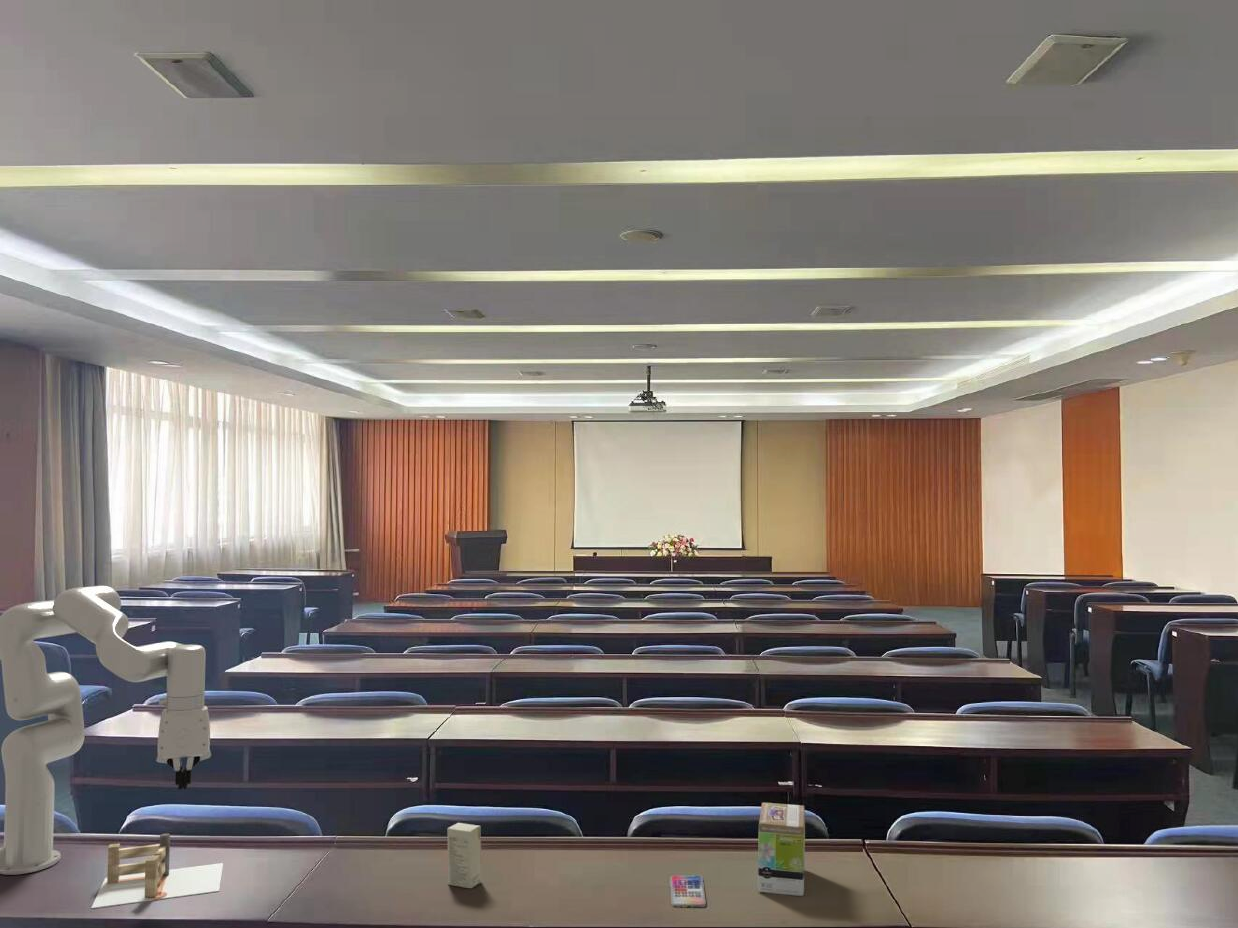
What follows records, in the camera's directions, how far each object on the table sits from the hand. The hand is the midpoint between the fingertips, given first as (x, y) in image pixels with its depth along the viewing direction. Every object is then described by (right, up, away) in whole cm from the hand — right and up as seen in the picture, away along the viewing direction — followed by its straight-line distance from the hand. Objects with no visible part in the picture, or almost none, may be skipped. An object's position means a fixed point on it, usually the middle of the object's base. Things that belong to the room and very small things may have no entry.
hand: (183, 787), depth 198 cm
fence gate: (-5, -21, -2) cm, 21 cm away
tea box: (+131, -22, +2) cm, 133 cm away
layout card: (-5, -21, 0) cm, 22 cm away
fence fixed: (-11, -21, +3) cm, 24 cm away
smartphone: (+110, -22, -4) cm, 112 cm away
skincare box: (+61, -22, +1) cm, 65 cm away
